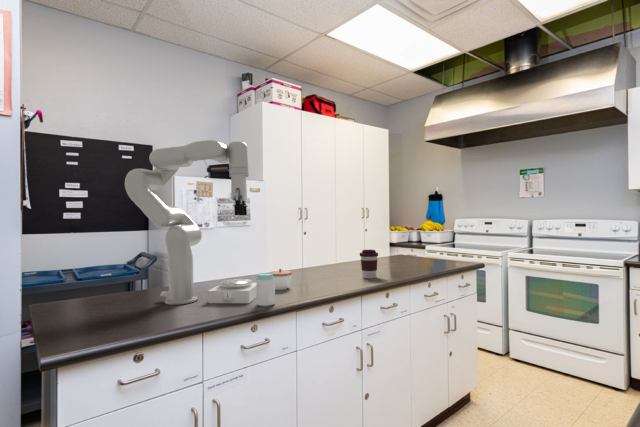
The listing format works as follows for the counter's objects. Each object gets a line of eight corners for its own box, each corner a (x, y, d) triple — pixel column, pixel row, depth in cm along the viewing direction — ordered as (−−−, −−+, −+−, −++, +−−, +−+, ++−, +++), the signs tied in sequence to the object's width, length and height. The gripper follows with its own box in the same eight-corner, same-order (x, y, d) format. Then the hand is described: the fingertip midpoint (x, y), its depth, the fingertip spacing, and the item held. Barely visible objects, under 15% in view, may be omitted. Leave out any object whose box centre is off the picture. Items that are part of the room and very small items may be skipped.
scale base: (207, 303, 140) (207, 291, 140) (223, 293, 158) (223, 282, 158) (248, 303, 139) (248, 291, 139) (260, 293, 156) (260, 282, 156)
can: (275, 306, 133) (275, 274, 133) (257, 307, 132) (256, 276, 132) (274, 302, 140) (273, 272, 140) (256, 303, 139) (255, 273, 139)
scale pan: (212, 287, 142) (212, 285, 142) (225, 281, 156) (225, 278, 156) (246, 287, 141) (246, 285, 141) (256, 281, 155) (256, 278, 155)
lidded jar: (265, 290, 164) (264, 270, 164) (276, 285, 174) (275, 266, 174) (285, 291, 160) (284, 270, 160) (295, 286, 170) (295, 267, 170)
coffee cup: (380, 279, 185) (379, 250, 186) (361, 279, 186) (360, 251, 186) (377, 275, 195) (376, 249, 195) (359, 276, 195) (358, 249, 196)
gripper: (233, 175, 150) (235, 215, 150) (225, 170, 133) (227, 215, 133) (251, 175, 151) (253, 214, 151) (245, 169, 134) (247, 214, 133)
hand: (240, 215), depth 142 cm, fingers open, 9 cm apart
